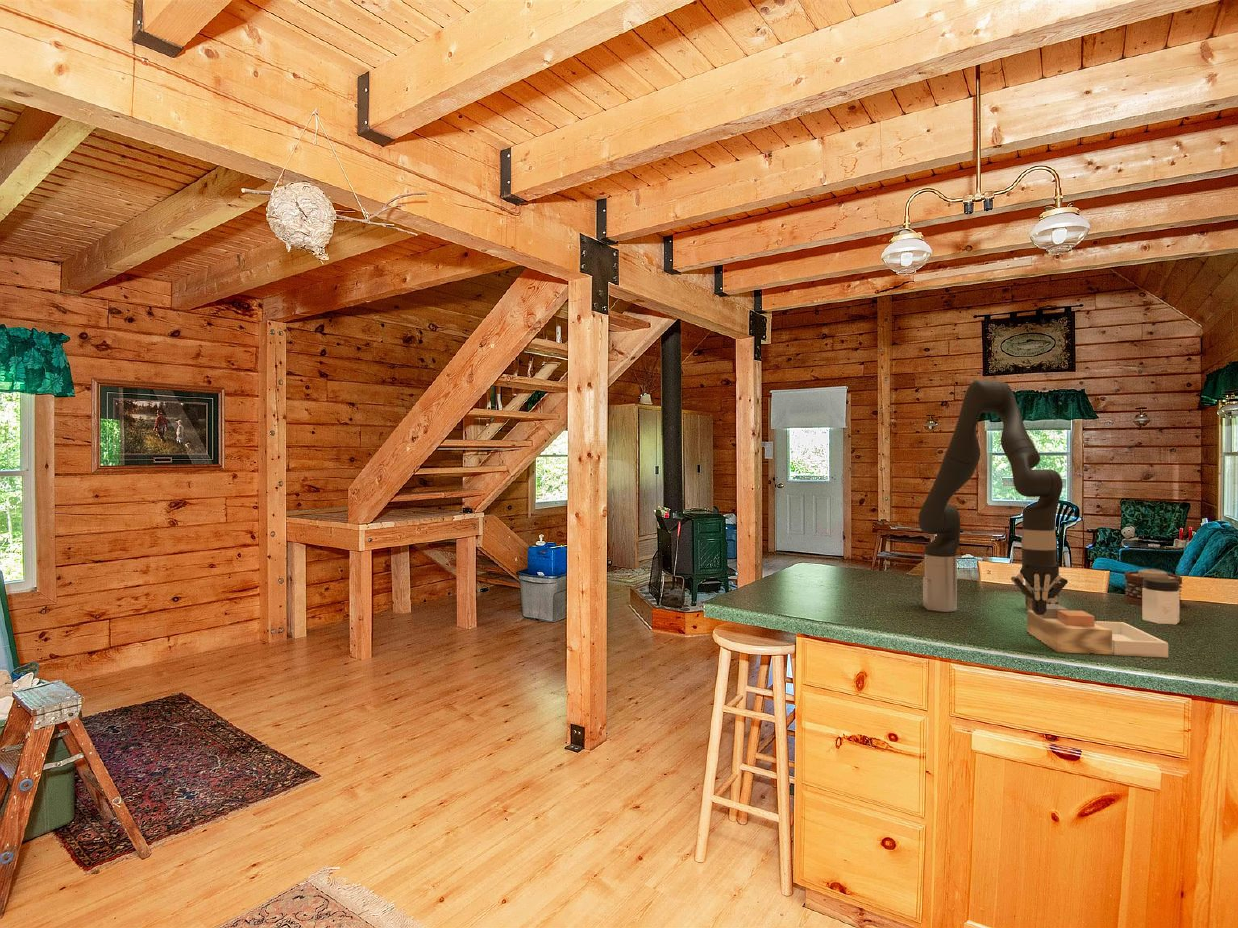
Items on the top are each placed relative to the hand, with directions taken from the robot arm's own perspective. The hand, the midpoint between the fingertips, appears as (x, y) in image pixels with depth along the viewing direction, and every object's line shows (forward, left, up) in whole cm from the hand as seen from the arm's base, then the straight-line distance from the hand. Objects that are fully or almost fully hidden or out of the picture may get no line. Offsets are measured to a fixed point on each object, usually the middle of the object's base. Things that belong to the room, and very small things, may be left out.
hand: (1039, 614), depth 171 cm
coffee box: (+15, +38, -8) cm, 42 cm away
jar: (+44, +32, -8) cm, 55 cm away
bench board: (+8, +4, -8) cm, 12 cm away
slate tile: (+5, +7, -2) cm, 9 cm away
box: (+20, +4, -8) cm, 22 cm away
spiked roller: (+54, +56, -8) cm, 78 cm away
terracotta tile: (+8, 0, -2) cm, 9 cm away
